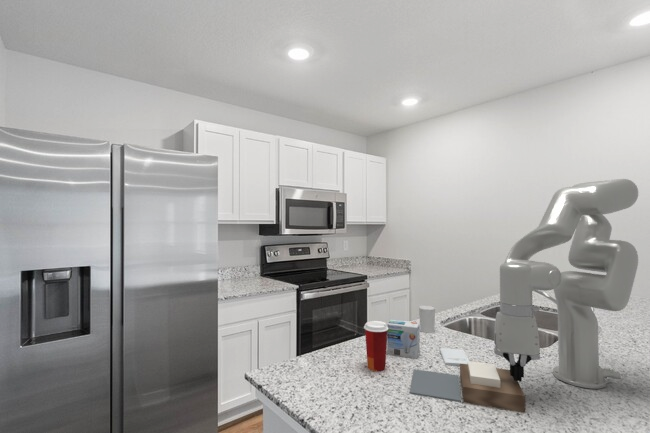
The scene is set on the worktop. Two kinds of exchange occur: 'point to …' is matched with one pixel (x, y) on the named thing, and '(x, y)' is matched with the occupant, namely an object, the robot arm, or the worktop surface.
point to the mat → (435, 385)
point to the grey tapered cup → (427, 319)
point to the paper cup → (376, 345)
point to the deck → (493, 391)
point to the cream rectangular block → (483, 374)
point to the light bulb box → (403, 338)
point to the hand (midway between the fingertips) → (516, 379)
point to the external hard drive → (454, 356)
